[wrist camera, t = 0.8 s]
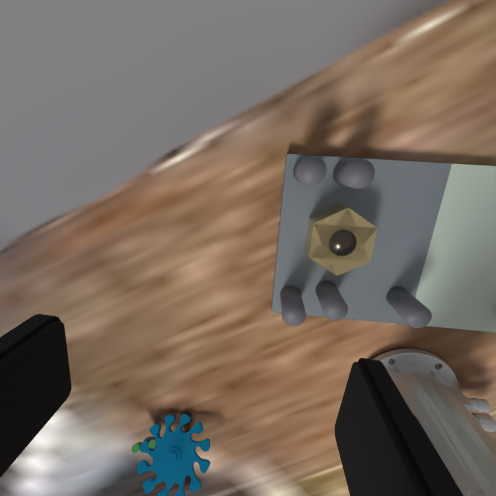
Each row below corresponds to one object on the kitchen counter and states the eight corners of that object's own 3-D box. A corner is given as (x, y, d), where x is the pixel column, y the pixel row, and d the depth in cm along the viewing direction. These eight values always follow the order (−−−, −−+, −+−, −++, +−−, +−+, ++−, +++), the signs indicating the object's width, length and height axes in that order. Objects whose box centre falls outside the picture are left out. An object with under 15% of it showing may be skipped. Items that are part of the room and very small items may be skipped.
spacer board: (637, 175, 26) (732, 177, 20) (560, 333, 31) (620, 367, 26) (286, 154, 27) (290, 151, 22) (271, 307, 33) (272, 334, 27)
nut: (369, 205, 27) (381, 209, 24) (357, 267, 29) (367, 278, 26) (311, 201, 28) (316, 205, 25) (303, 263, 30) (307, 273, 27)
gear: (218, 425, 37) (194, 520, 32) (224, 421, 42) (204, 502, 37) (147, 402, 39) (114, 489, 34) (160, 401, 44) (134, 476, 39)
